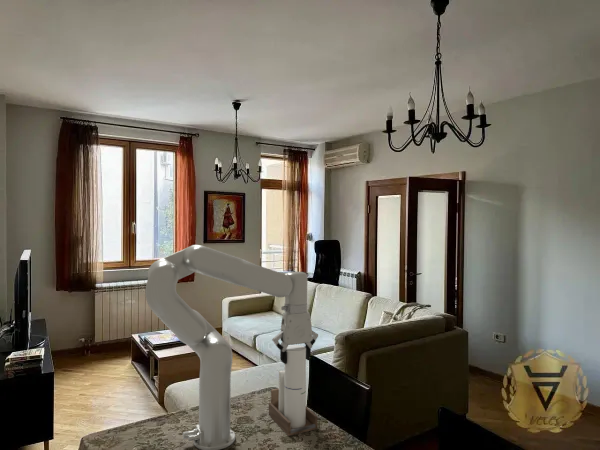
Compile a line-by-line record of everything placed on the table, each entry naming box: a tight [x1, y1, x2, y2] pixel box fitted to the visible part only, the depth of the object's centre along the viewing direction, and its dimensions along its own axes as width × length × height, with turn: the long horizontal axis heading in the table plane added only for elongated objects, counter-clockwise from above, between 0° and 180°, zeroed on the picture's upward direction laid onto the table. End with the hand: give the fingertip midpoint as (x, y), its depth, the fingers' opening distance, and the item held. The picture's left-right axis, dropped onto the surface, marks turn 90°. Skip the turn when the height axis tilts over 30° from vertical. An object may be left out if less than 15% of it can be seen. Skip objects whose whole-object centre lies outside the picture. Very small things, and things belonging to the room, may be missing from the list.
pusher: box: [278, 369, 285, 415], centre depth 138 cm, size 8×1×16 cm, turn 116°
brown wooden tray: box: [268, 387, 319, 437], centre depth 136 cm, size 11×17×9 cm, turn 26°
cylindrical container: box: [284, 344, 307, 428], centre depth 134 cm, size 7×7×25 cm
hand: (295, 360), depth 135 cm, fingers open, 8 cm apart
